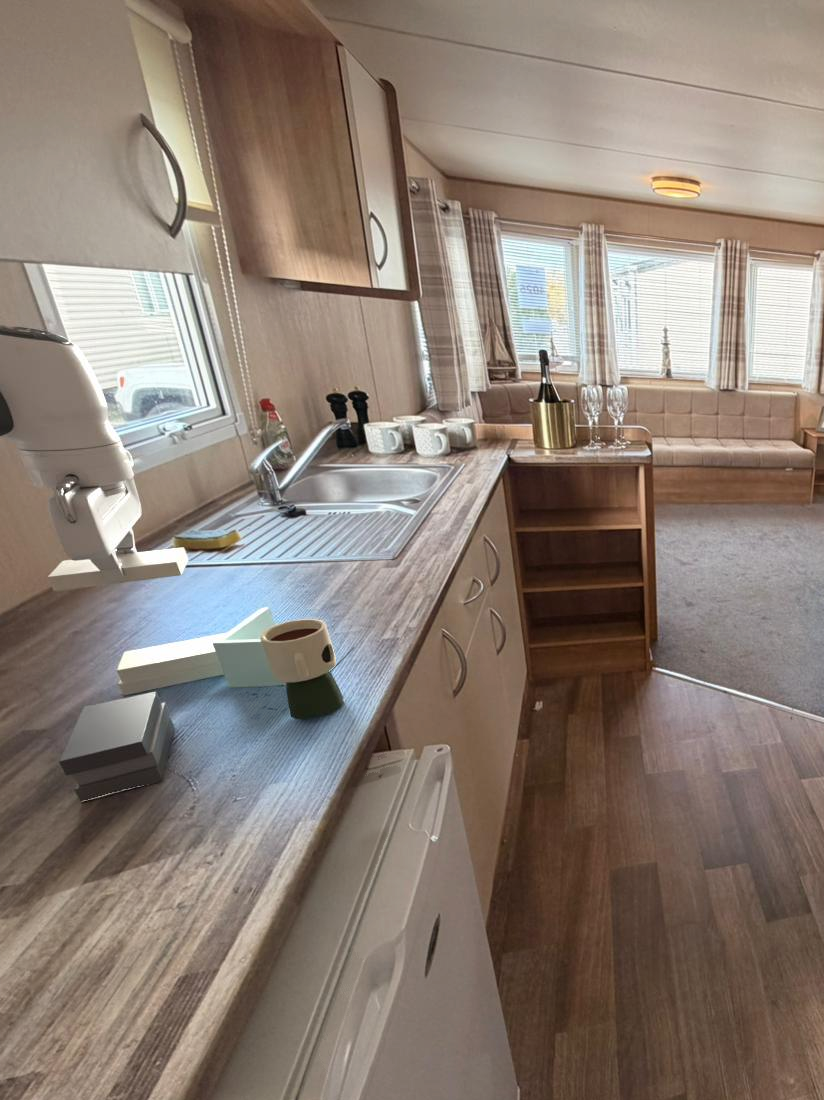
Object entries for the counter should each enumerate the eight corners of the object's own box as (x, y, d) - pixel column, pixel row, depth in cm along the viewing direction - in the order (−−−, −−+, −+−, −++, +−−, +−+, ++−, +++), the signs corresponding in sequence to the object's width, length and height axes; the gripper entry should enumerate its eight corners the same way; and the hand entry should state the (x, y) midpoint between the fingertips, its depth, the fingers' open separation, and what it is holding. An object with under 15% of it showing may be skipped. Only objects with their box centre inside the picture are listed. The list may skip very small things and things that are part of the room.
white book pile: (123, 695, 91) (112, 671, 89) (130, 675, 96) (120, 652, 94) (235, 672, 98) (226, 649, 96) (237, 654, 103) (229, 632, 101)
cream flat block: (188, 560, 91) (183, 547, 90) (181, 575, 86) (176, 561, 86) (68, 574, 85) (62, 560, 84) (53, 591, 80) (46, 577, 79)
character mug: (352, 722, 88) (328, 639, 83) (288, 739, 84) (258, 653, 79) (345, 686, 96) (323, 609, 91) (286, 700, 92) (260, 620, 87)
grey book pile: (163, 781, 76) (144, 740, 74) (81, 804, 72) (58, 761, 70) (175, 727, 85) (159, 689, 83) (103, 744, 81) (83, 705, 79)
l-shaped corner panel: (318, 684, 96) (305, 640, 93) (229, 687, 94) (212, 643, 91) (355, 645, 107) (344, 605, 104) (275, 648, 105) (262, 607, 102)
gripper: (94, 483, 74) (139, 592, 79) (132, 450, 89) (168, 543, 94) (13, 489, 70) (66, 602, 76) (68, 453, 85) (108, 550, 91)
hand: (123, 569), depth 85 cm, fingers closed on cream flat block, 6 cm apart
